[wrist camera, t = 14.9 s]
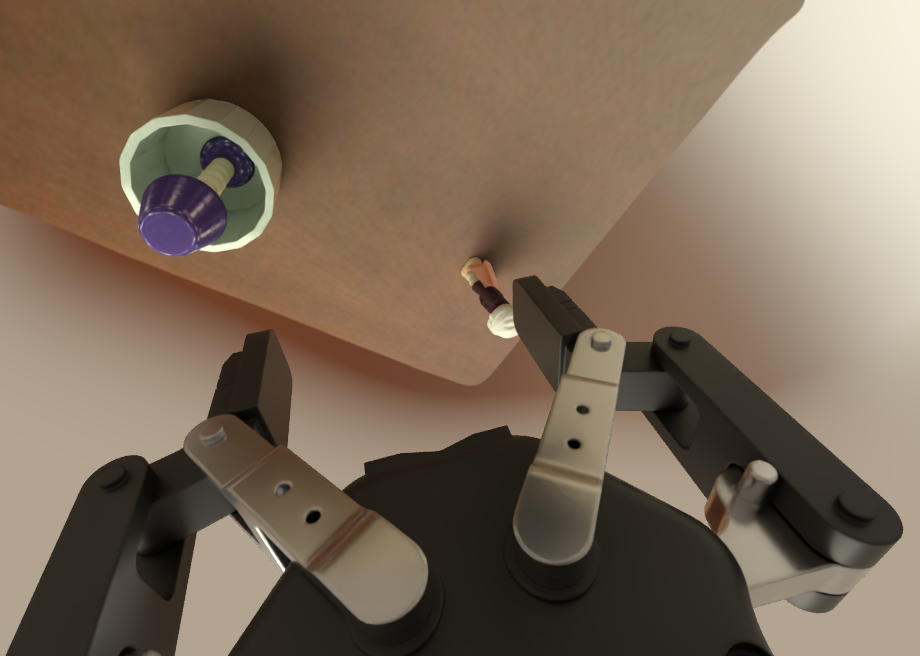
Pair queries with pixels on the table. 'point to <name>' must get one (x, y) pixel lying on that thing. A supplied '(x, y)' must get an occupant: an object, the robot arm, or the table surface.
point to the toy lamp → (193, 201)
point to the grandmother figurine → (490, 297)
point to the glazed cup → (178, 152)
